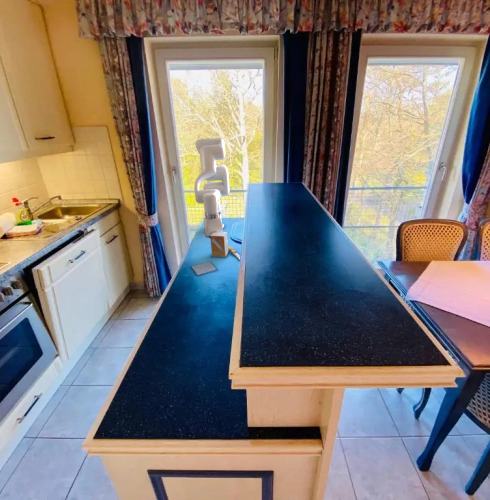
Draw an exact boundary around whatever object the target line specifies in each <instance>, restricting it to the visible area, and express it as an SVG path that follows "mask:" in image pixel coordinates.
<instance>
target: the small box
mask: <svg viewBox="0 0 490 500" xmlns="http://www.w3.org/2000/svg"><path fill="white" fill-rule="evenodd" d="M209 240H210V249H211V257H213V258H215V257H216V258H226V257H227V256H228V254H229V250H228V247H229V243H228V242H229V241H228V231H223V232H213V233H212V234H211V235H210V238H209Z"/></svg>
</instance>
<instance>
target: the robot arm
mask: <svg viewBox="0 0 490 500" xmlns="http://www.w3.org/2000/svg"><path fill="white" fill-rule="evenodd" d="M195 148H196V151H197V152H198V154H199V159H200V160H199V163H200V173H199V174H198V176H197V177H196V178H195V181H194V187H193V189H194V198H195V202H196V203H197V204H201V205H202V204H203V210H204V218H203V233H204V238H205V239H210V235H211V234H212V233H213V232H224V230H223V229H224V228H225V224H224V223H223V221H222V209H221V202H220V201H221V198H222V197H228V196H229V195H230V178H229V177H230V176H229V170H228V167H227V165H223V164H221V165H217V161H223V160H224V159H226V145H225V140H224V139H223V138H221V137H212V138H208V137H207V138H205V137H204V138H197V140H196V141H195ZM204 181H208V182H206V183H204V185H203V186H202V189H200V186H201V184H202V183H203V182H204Z"/></svg>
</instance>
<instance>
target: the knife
mask: <svg viewBox="0 0 490 500" xmlns="http://www.w3.org/2000/svg"><path fill="white" fill-rule="evenodd" d="M228 252H230V253H231V254H232V255H233V256H234V257H236V258H237V259H238V260H239V261H241V260H240V256H241V255H240V254H239V253H238V252H237V250H236V249H235V248H234V247H233V246H231V245H228Z"/></svg>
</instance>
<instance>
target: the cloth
mask: <svg viewBox="0 0 490 500" xmlns="http://www.w3.org/2000/svg"><path fill="white" fill-rule="evenodd" d="M191 268H192V269H193V271H194V272H195V274H196V275H197V276H200V275H204V274H208V273H211V272H215V271H217V269H216V267H215V266H214V265H213V264H212V262H211V261H207V262H203V263H199V264H196V265H192V266H191Z"/></svg>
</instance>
